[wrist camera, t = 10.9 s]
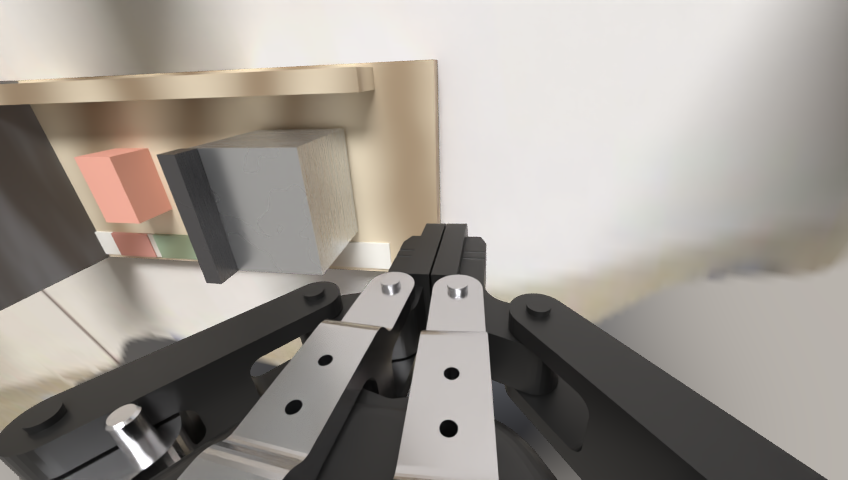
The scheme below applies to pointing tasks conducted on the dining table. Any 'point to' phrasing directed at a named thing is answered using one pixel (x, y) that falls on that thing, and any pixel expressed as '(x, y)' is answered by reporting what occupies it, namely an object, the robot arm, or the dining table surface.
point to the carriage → (265, 201)
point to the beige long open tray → (195, 125)
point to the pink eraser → (124, 184)
